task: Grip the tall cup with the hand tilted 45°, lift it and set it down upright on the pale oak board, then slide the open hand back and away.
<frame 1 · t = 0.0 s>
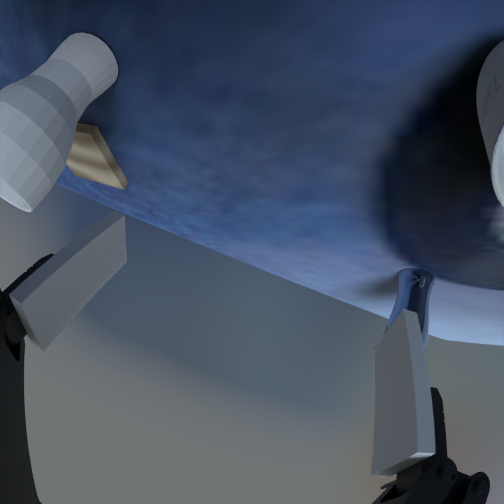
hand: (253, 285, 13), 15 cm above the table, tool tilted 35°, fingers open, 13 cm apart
oak board: (86, 151, 39), on the table
cup: (90, 59, 21), on the table
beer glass: (416, 275, 40), on the table
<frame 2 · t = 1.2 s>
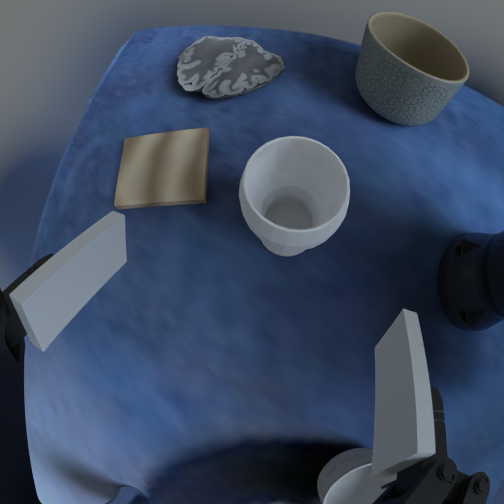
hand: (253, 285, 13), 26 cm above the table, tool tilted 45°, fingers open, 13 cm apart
teacup: (342, 476, 32), on the table
oak board: (163, 169, 43), on the table
cup: (286, 228, 40), on the table
brain slice: (226, 75, 47), on the table
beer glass: (133, 498, 32), on the table
planter: (391, 101, 44), on the table
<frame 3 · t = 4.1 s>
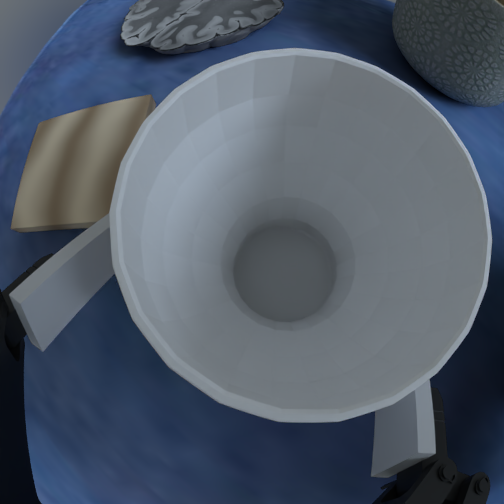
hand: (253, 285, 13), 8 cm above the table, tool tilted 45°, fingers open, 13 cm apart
oak board: (80, 167, 23), on the table
cup: (281, 276, 21), on the table, touching gripper
brain slice: (196, 26, 27), on the table
planter: (441, 70, 25), on the table
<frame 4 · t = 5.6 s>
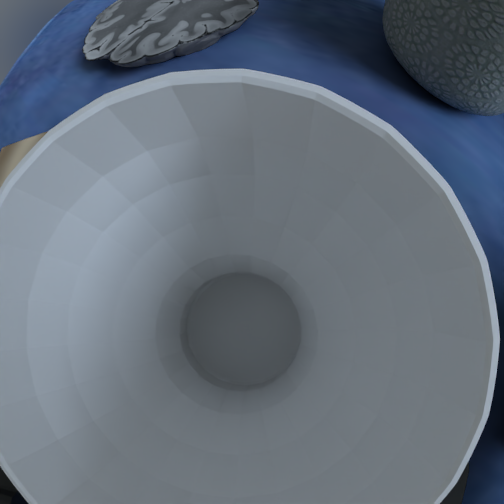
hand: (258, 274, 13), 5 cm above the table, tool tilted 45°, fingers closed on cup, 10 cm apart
oak board: (38, 198, 20), on the table
cup: (244, 328, 18), on the table, touching gripper
brain slice: (164, 33, 25), on the table
planter: (439, 73, 22), on the table
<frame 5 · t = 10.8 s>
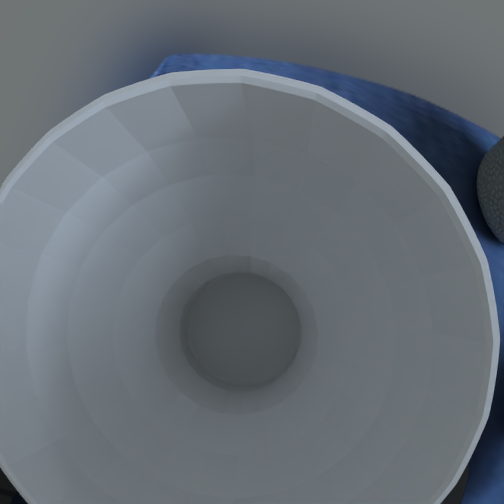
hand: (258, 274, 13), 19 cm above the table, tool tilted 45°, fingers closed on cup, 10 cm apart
cup: (244, 328, 18), point 14 cm above the table, touching gripper
planter: (499, 207, 33), on the table
when the fingers open (7 cm above the table, at t = 16.3 s): cup stays where it is, resting on oak board.
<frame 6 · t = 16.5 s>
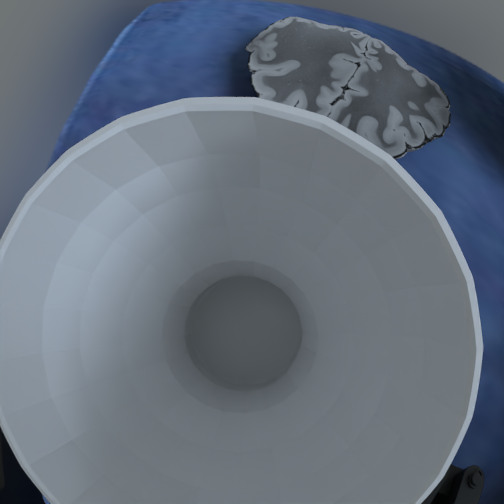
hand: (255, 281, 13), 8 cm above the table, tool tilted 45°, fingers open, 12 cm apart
cup: (246, 330, 19), point 1 cm above the table, touching oak board
brain slice: (343, 99, 24), on the table
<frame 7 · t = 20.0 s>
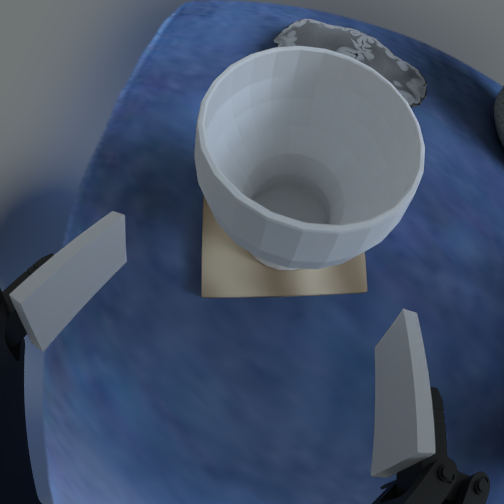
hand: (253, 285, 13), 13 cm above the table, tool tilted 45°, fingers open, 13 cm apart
oak board: (282, 229, 27), on the table
cup: (285, 226, 25), point 1 cm above the table, touching oak board
brain slice: (345, 80, 31), on the table
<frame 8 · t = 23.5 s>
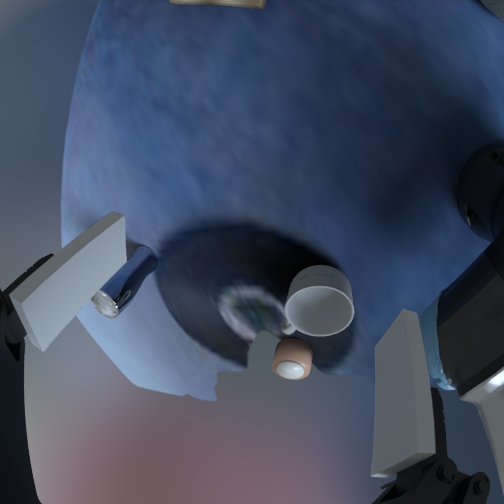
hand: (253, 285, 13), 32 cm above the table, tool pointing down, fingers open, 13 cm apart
tealight holder: (294, 350, 61), on the table
teacup: (315, 286, 51), on the table
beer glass: (146, 257, 58), on the table
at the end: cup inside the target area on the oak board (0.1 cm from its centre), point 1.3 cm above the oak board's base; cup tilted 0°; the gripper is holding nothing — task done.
